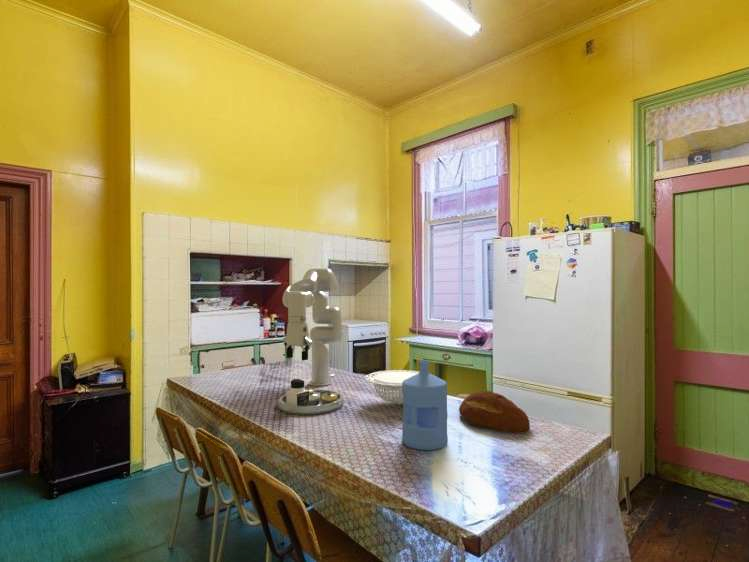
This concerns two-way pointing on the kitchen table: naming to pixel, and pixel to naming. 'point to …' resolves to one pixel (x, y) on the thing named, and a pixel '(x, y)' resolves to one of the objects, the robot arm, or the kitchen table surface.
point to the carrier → (314, 403)
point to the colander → (390, 383)
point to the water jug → (424, 410)
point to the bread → (494, 412)
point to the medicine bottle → (297, 393)
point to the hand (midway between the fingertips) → (297, 358)
